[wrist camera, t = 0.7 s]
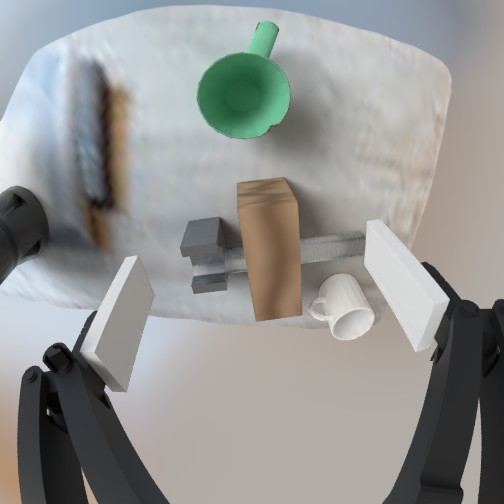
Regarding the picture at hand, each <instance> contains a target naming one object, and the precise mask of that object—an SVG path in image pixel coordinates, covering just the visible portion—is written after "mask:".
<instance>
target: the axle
mask: <svg viewBox="0 0 504 504" xmlns="http://www.w3.org/2000/svg"><path fill="white" fill-rule="evenodd" d="M365 246H366V242H365V237H364V235H363V233H362V232H361V231H356V232H348V233H340V234H332V235H325V236H317V237H309V238H302V239H300V256H301V264H306V263H313V262H320V261H327V260H334V259H341V258H347V257H354V256H361V255H364V254H365ZM223 253H224V264H225V269H226V273H227V274H233V273H240V272H247V266H246V260H245V254H244V248H243V246H242V247H234V248H227V249H224V252H223Z"/></svg>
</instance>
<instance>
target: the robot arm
mask: <svg viewBox="0 0 504 504" xmlns="http://www.w3.org/2000/svg"><path fill="white" fill-rule="evenodd" d="M47 241H48V223H47V219H46V216H45V213H44V211H43V208H42V206H41V205H40V203H39V201H38V200H37V199H36V197H35V196H34V195H33V194H32V193H31V192H29V191H28V190H27V189H25V188H23V187H19V186H13V187H10V188H8V189H7V190H5V191H4V192H2V193H1V194H0V285H1V284H2V282H3V281H4V280H5V279H6V278H7V276H8V275H9V274H10V273H11V272H12V270H13V269H14V268H15V267H16V266H17V265H20V264H22V263H24V262H26V261H28V260H31V259H33V258H35V257H36V256H37V255H39V253H40V252H41V251H42V250H43V249H44V248H45V246H46V244H47ZM364 265H365V267H366V268H367V270H368V271H369V273H370V275H371V276H372V278H373V279H374V281H375V283H376V284H377V286H378V287H379V289H380V291H381V292H382V294H383V296H384V297H385V299H386V301H387V302H388V304H389V305H390V307H391V309H392V311H393V312H394V314H395V316H396V318H397V319H398V321H399V323H400V325H401V326H402V328H403V330H404V332H405V334H406V335H407V337H408V339H409V341H410V343H411V345H412V346H413V348H414V350H415V352H418V351H421V350H424V349H427V348H429V347H430V346H431V344H432V342H433V340H434V338H435V340H436V342H437V343H438V345H437V347H436V349H435V351H434V353H433V355H432V357H431V360H430V361H433V359H434V362H433V366H432V371H431V376H430V380H429V385H428V389H427V393H426V397H425V401H424V405H423V408H422V412H421V415H420V418H419V422H418V425H417V428H416V431H415V434H414V437H413V440H412V443H411V446H410V448H409V451H408V454H407V456H406V459H405V461H404V464H403V466H402V469H401V471H400V473H399V476H398V478H397V480H396V482H395V485H394V487H393V489H392V491H391V493H390V494H389V496H388V497H387V498H386V499H385V501H384V502H383V503H382V504H461V503H462V500H463V489H462V488H461V486H460V482H461V478H462V475H463V472H464V468H465V464H466V461H467V457H468V453H469V449H470V445H471V440H472V436H473V431H474V426H475V420H476V414H477V407H478V399H479V401H480V413H481V434H482V451H481V474H480V475H481V476H480V486H479V495H478V504H504V299H499V300H497V301H495V303H494V305H493V307H492V309H480V308H479V307H478V306H477V305H476V304H475V303H474V302H471V301H469V300H461V299H460V297H459V296H458V295H457V293H456V292H455V291H454V290H453V288H452V287H451V286H450V285H449V284H448V283H447V281H445V279H444V278H443V277H442V276H441V275H440V273H439V272H438V271H437V270H436V269H435V268H434V267H433V266H431V265H430V264H428V263H427V262H422V263H420V262H419V261H418V260H417V259H416V258H415V257H414V256H413V254H412V253H411V252H410V251H409V250H408V249H407V248H406V247H405V245H404V244H403V243H402V242H401V241H400V240H399V239H398V238H397V237H396V236H395V235H394V234H393V233H392V232H391V230H390V229H389V228H388V227H387V226H386V225H385V224H384V223H383V222H382V221H381V220H380V219H378V220H371V221H367V232H366V246H365V257H364ZM153 298H154V292H153V290H152V288H151V285H150V283H149V281H148V278H147V276H146V273H145V271H144V268H143V266H142V263H141V261H140V258H139V256H138V255H136V256H130V257H126V258H125V260H124V262H123V264H122V266H121V267H120V269H119V271H118V273H117V275H116V277H115V278H114V280H113V282H112V284H111V286H110V288H109V290H108V292H107V294H106V296H105V298H104V300H103V302H102V304H101V306H100V308H99V310H98V311H94V312H93V313H92V314H91V315H90V316H89V317H88V318H87V320H86V322H85V324H84V328H82V331H81V334H80V335H79V337H78V339H77V341H76V344H75V346H74V348H73V350H72V352H70V350H69V349H68V348H67V346H66V345H65V344H64V343H55V344H53V345H51V346H50V347H49V348H48V349H47V350H46V351H45V353H44V356H43V362H44V363H45V364H46V365H47V367H48V368H49V369H50V370H51V371H48V372H43V371H42V369H40V367H38V366H32V367H30V368H29V369H27V370H26V371H25V373H24V375H23V377H22V382H21V390H20V400H19V412H18V433H17V435H18V437H17V449H18V473H19V484H20V493H21V501H22V504H89V503H88V499H87V495H86V490H85V486H84V481H83V476H82V471H81V467H82V470H83V472H84V474H85V477H86V479H87V481H88V484H89V486H90V488H91V490H92V492H93V494H94V496H95V498H96V500H97V502H98V504H170V503H169V502H168V500H167V499H166V498H165V496H164V495H163V493H162V492H161V491H160V489H159V488H158V486H157V485H156V483H155V482H154V480H153V479H152V477H151V476H150V474H149V473H148V471H147V469H146V468H145V466H144V465H143V463H142V461H141V460H140V458H139V456H138V454H137V453H136V451H135V449H134V447H133V446H132V444H131V442H130V440H129V438H128V437H127V435H126V433H125V431H124V429H123V427H122V425H121V423H120V421H119V419H118V417H117V415H116V413H115V411H114V409H113V406H112V404H111V402H110V400H109V397H108V395H107V394H106V393H105V391H104V388H105V385H107V386H108V387H109V388H110V389H111V390H112V391H114V392H127V388H128V385H129V381H130V377H131V373H132V369H133V365H134V362H135V358H136V354H137V351H138V347H139V344H140V340H141V337H142V333H143V330H144V327H145V323H146V320H147V317H148V314H149V310H150V307H151V304H152V301H153ZM498 347H499V348H498ZM499 350H500V352H499ZM47 409H48V410H49V415H47Z"/></svg>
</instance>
